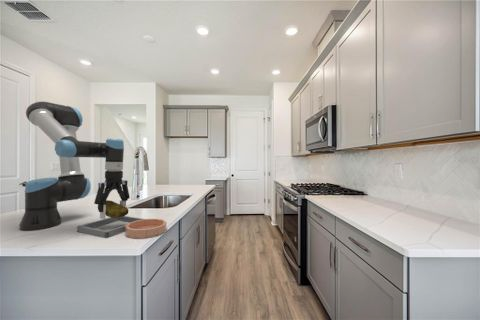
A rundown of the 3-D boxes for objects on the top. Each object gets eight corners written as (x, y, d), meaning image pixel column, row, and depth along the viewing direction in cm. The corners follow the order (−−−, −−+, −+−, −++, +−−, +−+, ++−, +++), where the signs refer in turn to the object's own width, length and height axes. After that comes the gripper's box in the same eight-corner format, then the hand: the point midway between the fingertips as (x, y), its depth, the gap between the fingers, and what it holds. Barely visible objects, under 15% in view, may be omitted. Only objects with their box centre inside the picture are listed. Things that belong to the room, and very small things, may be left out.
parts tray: (77, 231, 97) (77, 226, 97) (119, 219, 117) (119, 215, 117) (106, 238, 90) (106, 232, 90) (145, 223, 110) (145, 219, 110)
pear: (119, 220, 99) (120, 203, 99) (93, 218, 100) (94, 201, 100) (130, 215, 107) (130, 199, 107) (106, 213, 108) (106, 198, 108)
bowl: (116, 235, 93) (116, 226, 93) (146, 224, 109) (146, 217, 109) (146, 240, 87) (146, 232, 87) (173, 228, 103) (173, 221, 103)
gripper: (96, 172, 91) (95, 223, 92) (138, 169, 112) (136, 211, 112) (85, 171, 94) (83, 220, 94) (128, 169, 115) (126, 209, 115)
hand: (112, 215), depth 103 cm, fingers closed on pear, 9 cm apart
